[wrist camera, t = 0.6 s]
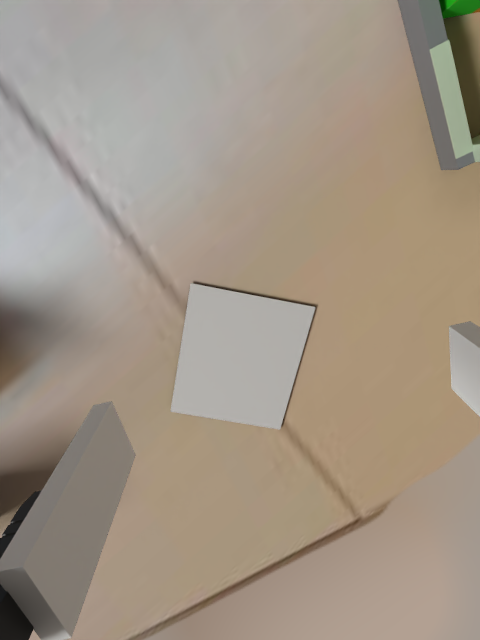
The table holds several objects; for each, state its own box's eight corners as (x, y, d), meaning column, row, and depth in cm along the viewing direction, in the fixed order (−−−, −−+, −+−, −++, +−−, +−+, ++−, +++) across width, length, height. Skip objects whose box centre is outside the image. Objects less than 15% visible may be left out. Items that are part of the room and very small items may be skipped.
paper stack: (394, 320, 43) (396, 322, 42) (332, 485, 51) (333, 489, 51) (191, 281, 41) (190, 283, 40) (163, 460, 50) (162, 464, 49)
